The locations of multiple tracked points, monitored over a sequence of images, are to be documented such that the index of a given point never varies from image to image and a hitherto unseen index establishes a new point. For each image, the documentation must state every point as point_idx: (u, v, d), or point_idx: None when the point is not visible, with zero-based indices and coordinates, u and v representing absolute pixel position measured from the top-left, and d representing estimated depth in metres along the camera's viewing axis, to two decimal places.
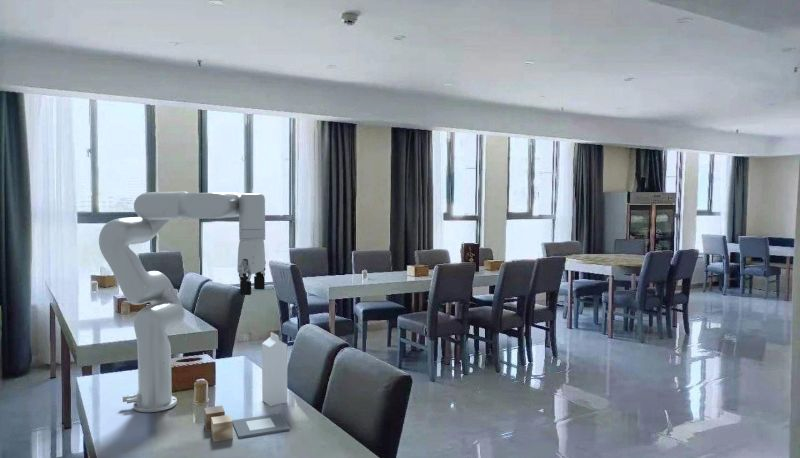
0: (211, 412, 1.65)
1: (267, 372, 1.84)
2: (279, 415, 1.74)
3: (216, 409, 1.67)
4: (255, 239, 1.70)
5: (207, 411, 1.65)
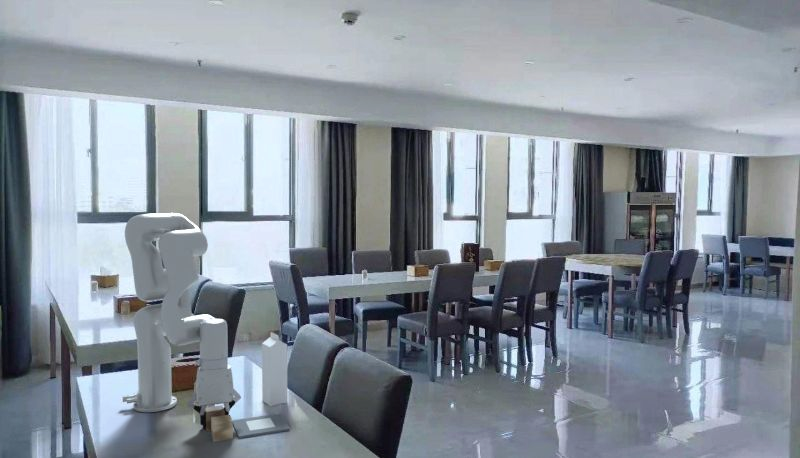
0: (211, 412, 1.65)
1: (267, 372, 1.84)
2: (279, 415, 1.74)
3: (216, 409, 1.67)
4: None
5: (207, 411, 1.65)
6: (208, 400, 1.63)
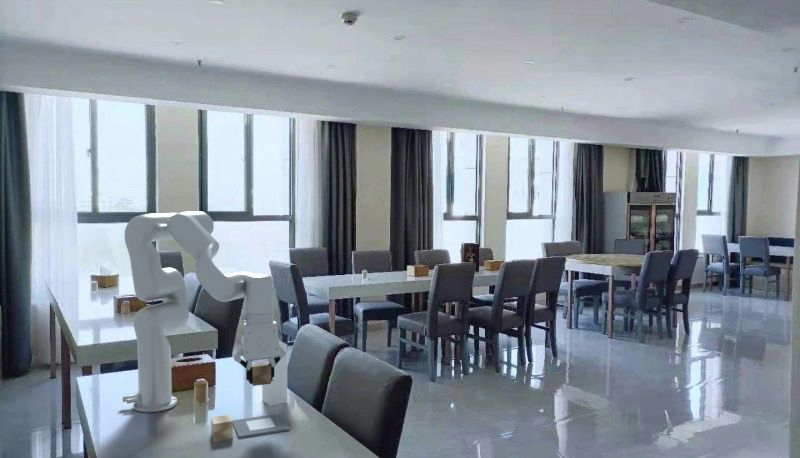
0: (257, 367, 1.64)
1: None
2: (279, 415, 1.74)
3: (262, 364, 1.67)
4: None
5: (253, 366, 1.65)
6: (255, 355, 1.63)
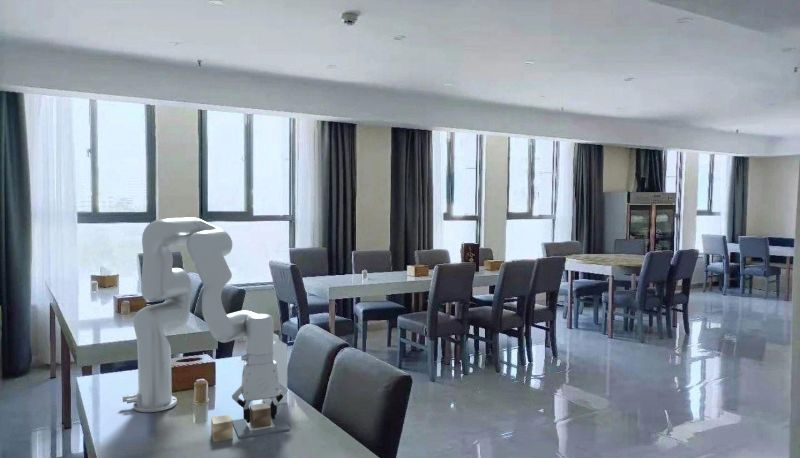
0: (257, 409, 1.65)
1: None
2: (279, 415, 1.74)
3: (262, 406, 1.67)
4: None
5: (253, 408, 1.66)
6: (255, 395, 1.63)
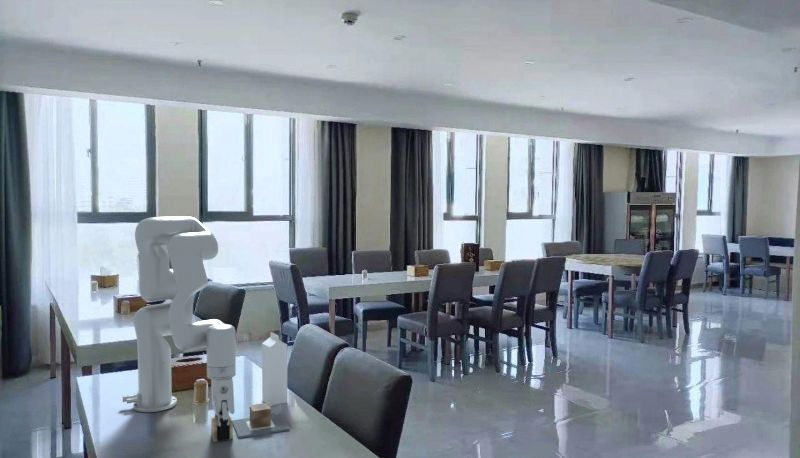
0: (257, 409, 1.65)
1: (267, 372, 1.84)
2: (279, 415, 1.74)
3: (262, 406, 1.67)
4: None
5: (253, 408, 1.66)
6: None
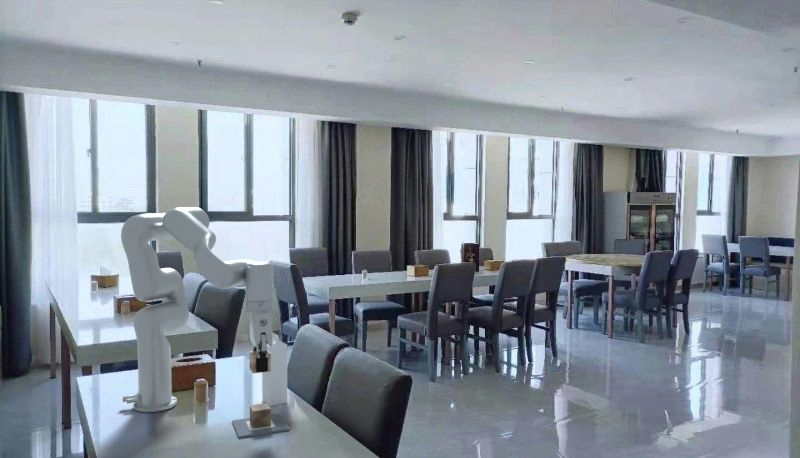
0: (257, 409, 1.65)
1: (267, 372, 1.84)
2: (279, 415, 1.74)
3: (262, 406, 1.67)
4: None
5: (253, 408, 1.66)
6: None
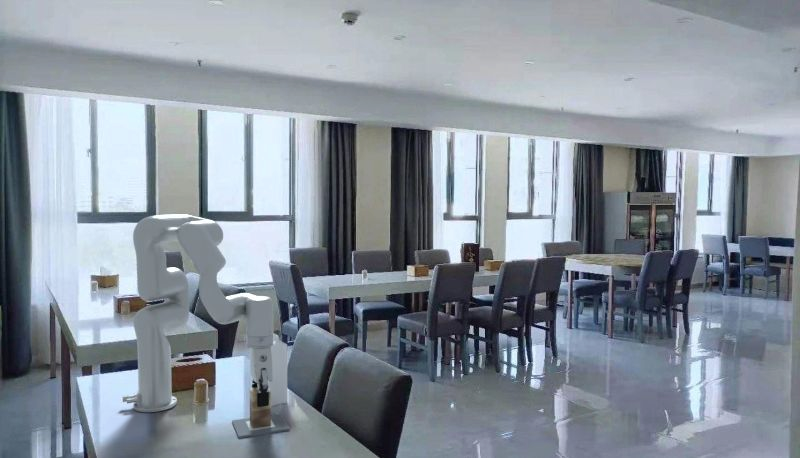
0: None
1: None
2: (279, 415, 1.74)
3: None
4: None
5: None
6: None
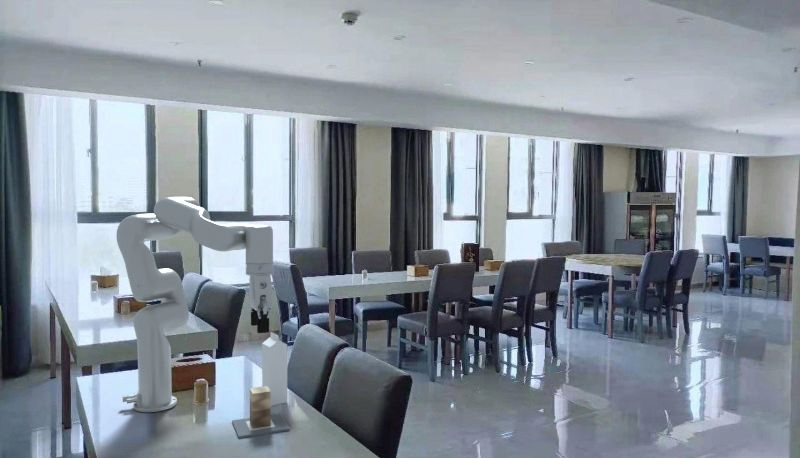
0: None
1: (267, 372, 1.84)
2: (279, 415, 1.74)
3: None
4: None
5: None
6: None
